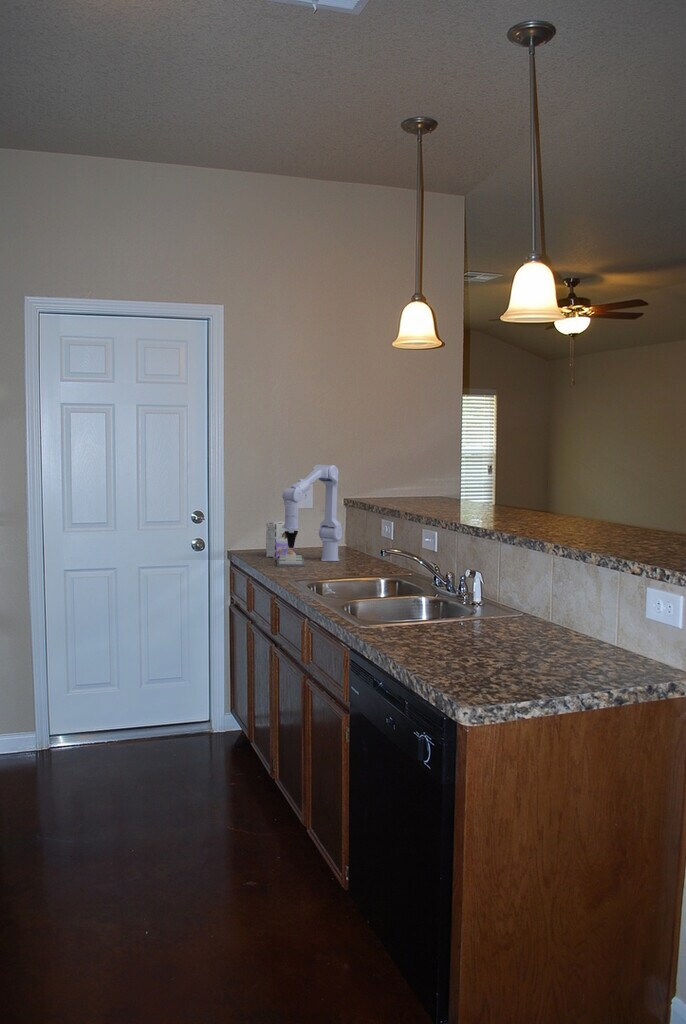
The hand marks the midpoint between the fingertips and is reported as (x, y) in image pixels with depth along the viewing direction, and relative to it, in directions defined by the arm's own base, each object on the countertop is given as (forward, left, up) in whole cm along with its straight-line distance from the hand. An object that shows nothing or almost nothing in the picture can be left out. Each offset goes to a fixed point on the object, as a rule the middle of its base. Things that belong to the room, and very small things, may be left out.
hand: (291, 547), depth 341 cm
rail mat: (-12, 0, -9) cm, 14 cm away
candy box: (-33, -5, -9) cm, 34 cm away
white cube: (-7, 0, -7) cm, 10 cm away
